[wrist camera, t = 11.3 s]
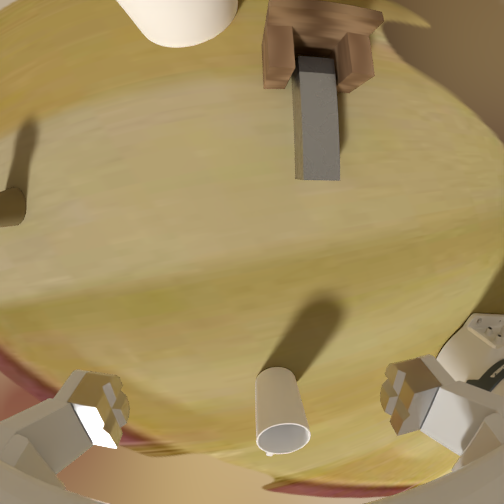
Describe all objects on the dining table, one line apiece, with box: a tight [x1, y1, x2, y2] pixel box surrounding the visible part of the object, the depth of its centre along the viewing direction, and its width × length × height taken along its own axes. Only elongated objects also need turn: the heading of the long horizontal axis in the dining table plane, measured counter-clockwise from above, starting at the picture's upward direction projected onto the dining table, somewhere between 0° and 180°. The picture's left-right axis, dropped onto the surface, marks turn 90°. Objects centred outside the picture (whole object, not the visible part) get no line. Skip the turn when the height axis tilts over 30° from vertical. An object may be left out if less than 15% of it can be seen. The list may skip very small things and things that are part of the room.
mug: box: [255, 367, 311, 456], centre depth 37 cm, size 10×7×12 cm, turn 163°
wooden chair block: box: [262, 0, 384, 93], centre depth 25 cm, size 11×6×12 cm, turn 92°
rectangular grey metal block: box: [291, 56, 340, 180], centre depth 30 cm, size 4×14×5 cm, turn 2°
